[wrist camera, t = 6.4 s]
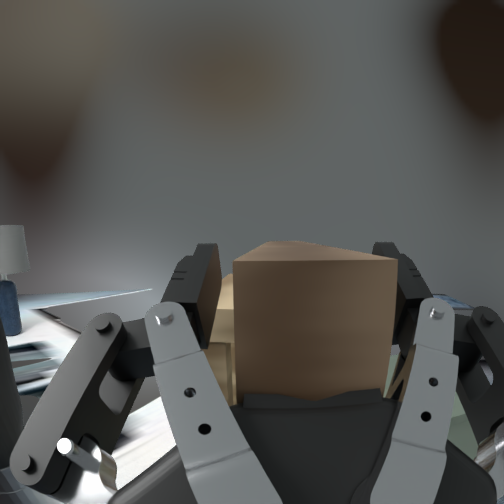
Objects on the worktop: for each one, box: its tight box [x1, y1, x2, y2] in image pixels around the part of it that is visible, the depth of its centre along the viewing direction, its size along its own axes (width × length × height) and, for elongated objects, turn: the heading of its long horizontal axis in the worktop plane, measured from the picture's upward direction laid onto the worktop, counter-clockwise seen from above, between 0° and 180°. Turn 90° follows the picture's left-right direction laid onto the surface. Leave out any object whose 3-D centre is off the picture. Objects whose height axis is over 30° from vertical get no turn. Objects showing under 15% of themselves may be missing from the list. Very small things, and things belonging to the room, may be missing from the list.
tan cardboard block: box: [233, 241, 398, 404], centre depth 20 cm, size 4×28×4 cm, turn 175°
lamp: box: [0, 225, 30, 336], centre depth 84 cm, size 25×25×43 cm
